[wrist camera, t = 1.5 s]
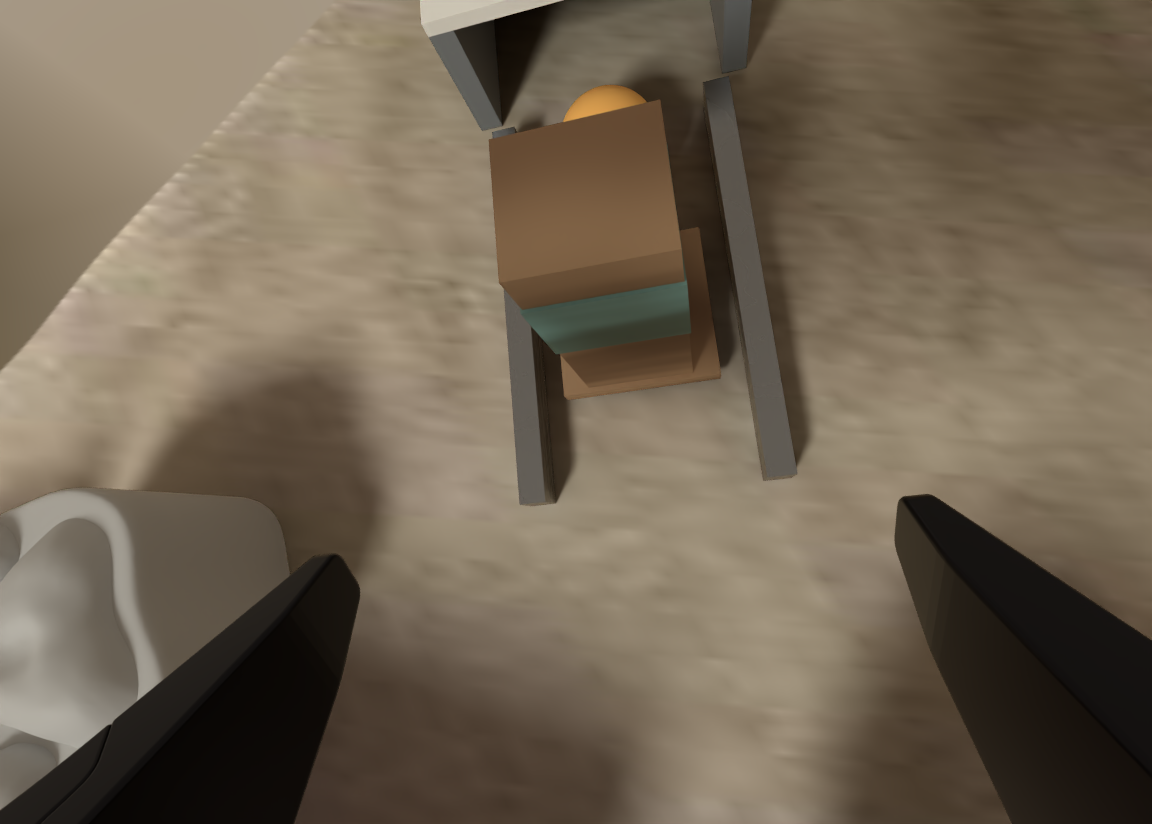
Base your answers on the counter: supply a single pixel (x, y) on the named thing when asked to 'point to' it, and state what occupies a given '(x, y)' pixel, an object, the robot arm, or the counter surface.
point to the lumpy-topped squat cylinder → (114, 607)
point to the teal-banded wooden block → (603, 252)
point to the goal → (471, 3)
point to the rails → (749, 310)
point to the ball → (603, 101)
